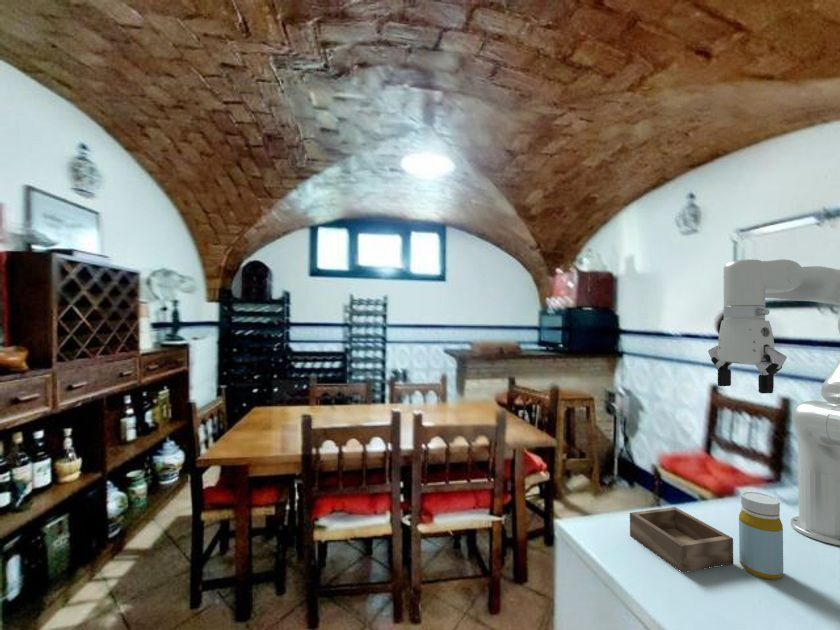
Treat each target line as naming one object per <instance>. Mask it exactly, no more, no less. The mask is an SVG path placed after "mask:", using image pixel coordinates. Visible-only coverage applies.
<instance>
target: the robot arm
mask: <svg viewBox="0 0 840 630" xmlns="http://www.w3.org/2000/svg"><path fill="white" fill-rule="evenodd" d="M766 299H779V300H789V301H799V302H815V303H822V304H828V305H829V304H830V305H836V306H840V269H838V268H832V267H826V266H822V265H821V266H820V265H818V266H814V265H813V266H801V265H800V264H799V262H797V261H794V260H791V259H786V258H785V259H780V258H779V259H774V260H760V259H749V258H748V259H739V260H738V259H736V260H731V261H729V262H727V263H725V264H724V267H723V320H721V322H720V327H719V332H718V333H719V334H718V342H717V345H715V346H714V347H711V348H710V349H708V354H709V357H710V358H711V359H710V361H711V362H712V364H713V365H714V368H715V369H716V370H717V386H719V387H731V386H732V370H731V368H730V367H731V365H732V364H740V365H750V366H755V367H756V368H757V369H758V371H759V372H760V373H761V374H758V379H757V381H758V385H757V386H758V393H759V394H773V393H774V387H775V386H774V383H775V382H774V378H775V377H774V376H776V375H777V374H778V372H779V371H780V370H782V368H783V365H784V364H785V362H786V361H787V359H788V358H787V356H786V354H783V353H782V352H780V351H778V350H777V349H775V341H774V340H775V339H774V334H773V329H772V326H771V323H770V320H766V316H768V315H769V314H770V309H768V308H766ZM837 328H838V332H839V334H840V316H838V319H837ZM820 393H821V397H822V398H823V399H824V400H825V401H821V400H808V401H802V402H800V403H798V404H797V405H796V406H795V407H794V409H793V410H792V414H791V419H792V425H793V429H794V432H795V437H796V442H797V443H796V444H797V456H798V457H797V459H798V460H797V461H798V465H797V466H798V469H797V470H798V477H797V478H798V516H794V517H792V518H791V519H790V525H791V528H793V529H794V530H795V531H797V533H800V534H802V535H804V536H806V537H808V538H811V539H813V540H816V541H820V542H823V543H826V544H830V545H835V546H840V359H839V361H838V362H837V363H836V364H835V366H834V367H833V369H832V370H831V372H830V373H829V374H828V376H827V377H826V379H825V380H824V382H823V383H822V385H821V391H820Z"/></svg>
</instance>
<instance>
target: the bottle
mask: <svg viewBox="0 0 840 630" xmlns="http://www.w3.org/2000/svg"><path fill="white" fill-rule="evenodd" d="M740 504H741V509H740V510H741V511H740V512H739V514H738V540H739V541H738V545H739V547H738V548H739V549H738V552H739V553H738V554H739V556H738V558H739V563H740V565H741V567H744V568H743V569H744V570H745V569H746V570H747V572H748V573H749V572H750V574H751V573H752V575H753V574H754V575H753V576H755V575H756V576H755V577H758V576H759V577H758V578H761V577H762V579H765V578H767V579H766V580H772V579H773V580H778V579H780V578H782V577H783V576H784V532H783V531H784V528H783V527H784V526H783V523H782V520H781V518H780V515H781V514H780V510H781V509H780V508H781V503H780V500H779V499H777V498H776V497H774V496H772V495H769V494H765V493H762V492H756V491H743V492H741V494H740ZM746 570H745V571H746Z"/></svg>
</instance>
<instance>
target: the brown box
mask: <svg viewBox="0 0 840 630" xmlns="http://www.w3.org/2000/svg"><path fill="white" fill-rule="evenodd" d="M629 536H630V537H631V538H632V539H634V540H635V541H637V542H638V543H639V544H641V545H642V544H643V546H644V547H645V546H646V547H645V548H647V549H648V548H649V549H650V550H649V549H648V550H649V551H651V552H652V551H653V552H654V553H653V552H652V553H653V554H655V553H656V554H657V555H656V554H655V555H656V556H658V557H659V556H660V557H661V558H660V557H659V558H660V559H662V560H663V559H664V561H665V562H666V563H667V564H668V565H670V564H671V565H670V566H672V567H673V566H674V567H676V568H677V569H678V570H677V569H676V568H675V569H676V570H677V571H679V570H680V571H681V572H685V573H688V572H687V571H691V572H695V571H694V570H697V571H700V570H699V569H703V570H705V569H704V568H708V569H710V568H709V567H714V566H720V567H722V566H721V565H726V566H729V565H728V564H732V565H734V537H732V536H730V535H728V534H726V533H724V532H722V531H720V530H719V529H717V528H714V527H713V526H711V525H710V524H707V523H706V522H704V521H702V520H700V519H698V518H696V517H695V516H692V515H691V514H689V513H687V512H685V511H683V510H682V509H680V508H678V507H676V506H673V507H665V508H657V509H648V510H640V511H633V512H629ZM674 567H673V568H674ZM714 568H715V567H714ZM680 571H679V572H680ZM681 572H680V573H681Z"/></svg>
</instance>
